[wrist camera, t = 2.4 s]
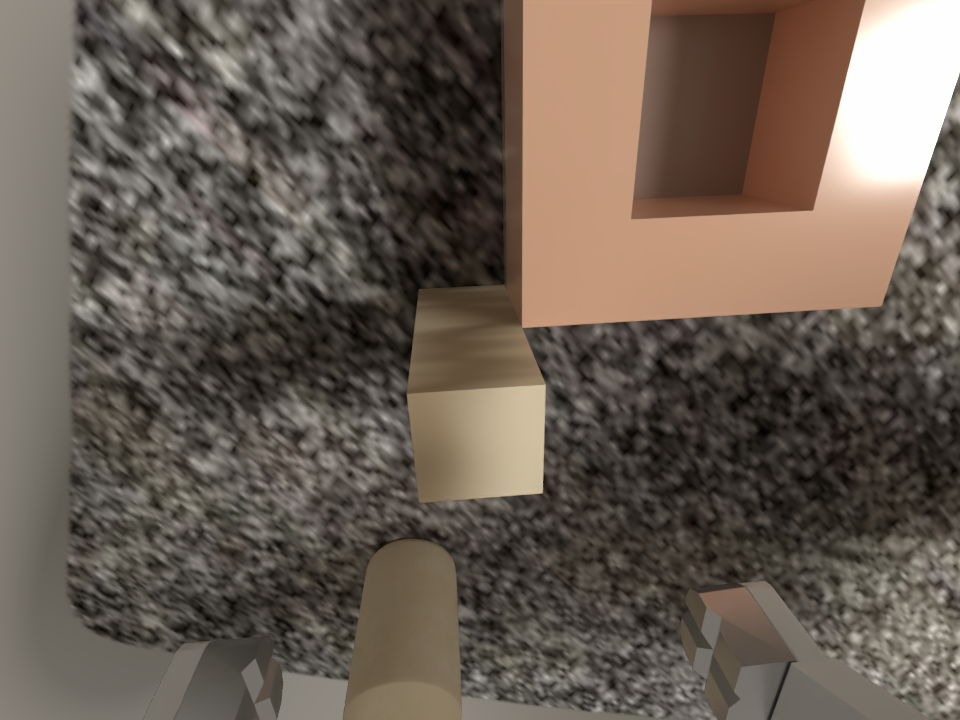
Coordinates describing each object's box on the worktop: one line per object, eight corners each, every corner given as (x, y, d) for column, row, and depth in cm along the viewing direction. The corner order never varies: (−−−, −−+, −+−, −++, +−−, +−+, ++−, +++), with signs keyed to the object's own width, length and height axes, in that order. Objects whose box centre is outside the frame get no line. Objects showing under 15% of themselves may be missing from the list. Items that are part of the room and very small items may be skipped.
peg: (503, 284, 23) (545, 384, 14) (504, 360, 25) (542, 493, 16) (418, 289, 23) (407, 394, 14) (425, 365, 25) (419, 502, 16)
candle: (407, 522, 29) (394, 700, 20) (474, 566, 31) (489, 746, 22) (347, 574, 30) (310, 762, 21) (415, 612, 32) (406, 800, 23)
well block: (880, -108, 18) (1048, -197, 13) (790, 268, 24) (881, 306, 19) (499, -104, 17) (523, -196, 12) (504, 284, 23) (521, 327, 18)
